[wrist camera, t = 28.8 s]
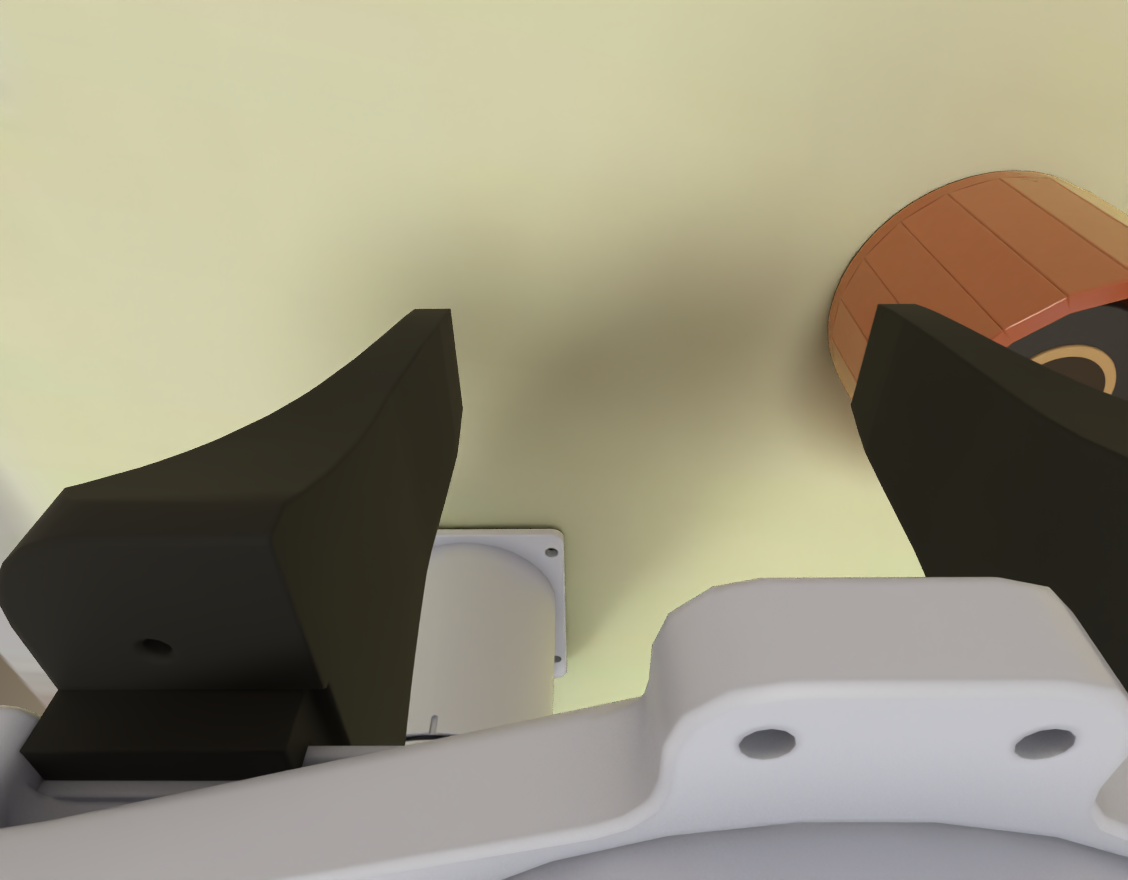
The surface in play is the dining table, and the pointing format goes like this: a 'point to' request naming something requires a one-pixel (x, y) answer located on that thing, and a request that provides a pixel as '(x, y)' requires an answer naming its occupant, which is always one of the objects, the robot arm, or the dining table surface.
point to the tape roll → (1085, 347)
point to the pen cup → (985, 261)
